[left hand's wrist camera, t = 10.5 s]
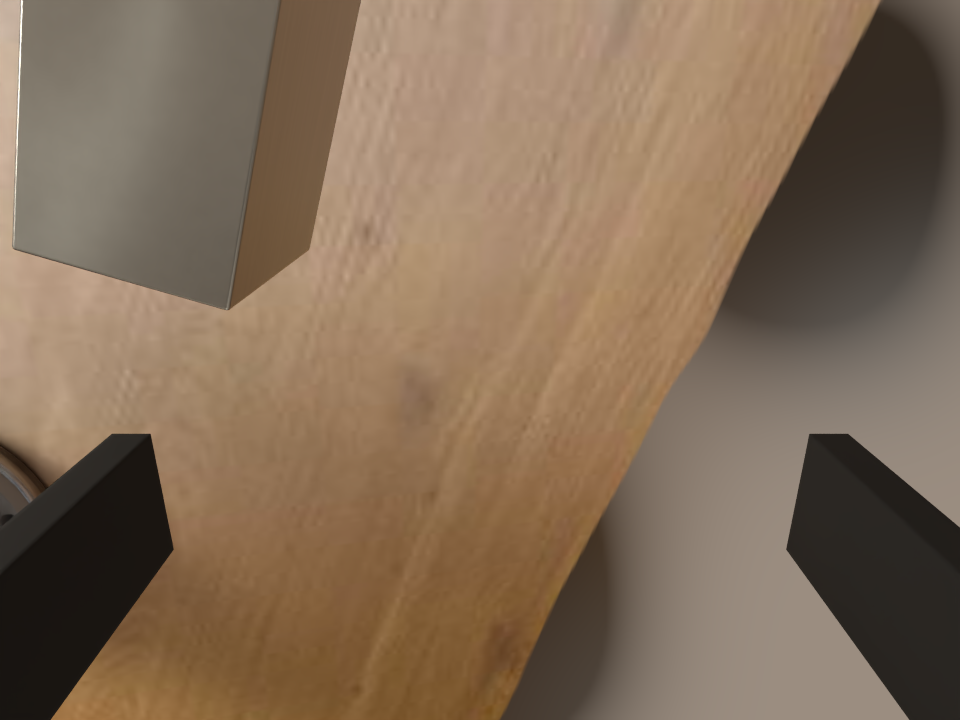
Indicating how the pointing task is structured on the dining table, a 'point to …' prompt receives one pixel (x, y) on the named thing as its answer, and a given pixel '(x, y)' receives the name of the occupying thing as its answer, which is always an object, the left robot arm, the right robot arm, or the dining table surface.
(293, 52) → the bar
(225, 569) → the dining table surface
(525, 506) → the dining table surface
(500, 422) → the dining table surface
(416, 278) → the dining table surface
